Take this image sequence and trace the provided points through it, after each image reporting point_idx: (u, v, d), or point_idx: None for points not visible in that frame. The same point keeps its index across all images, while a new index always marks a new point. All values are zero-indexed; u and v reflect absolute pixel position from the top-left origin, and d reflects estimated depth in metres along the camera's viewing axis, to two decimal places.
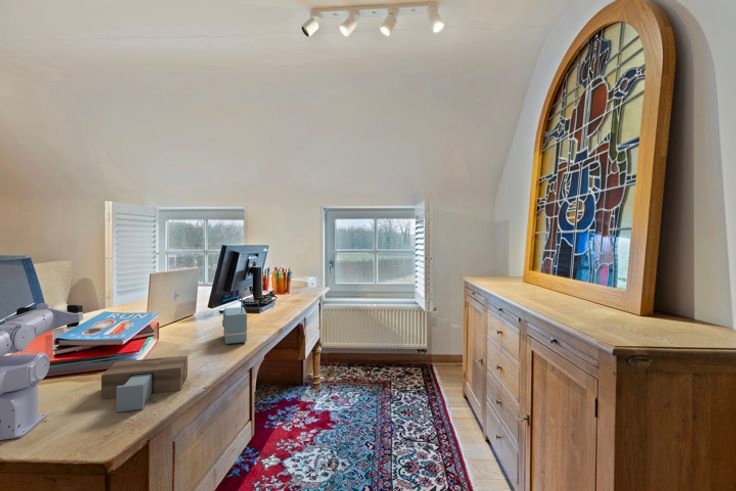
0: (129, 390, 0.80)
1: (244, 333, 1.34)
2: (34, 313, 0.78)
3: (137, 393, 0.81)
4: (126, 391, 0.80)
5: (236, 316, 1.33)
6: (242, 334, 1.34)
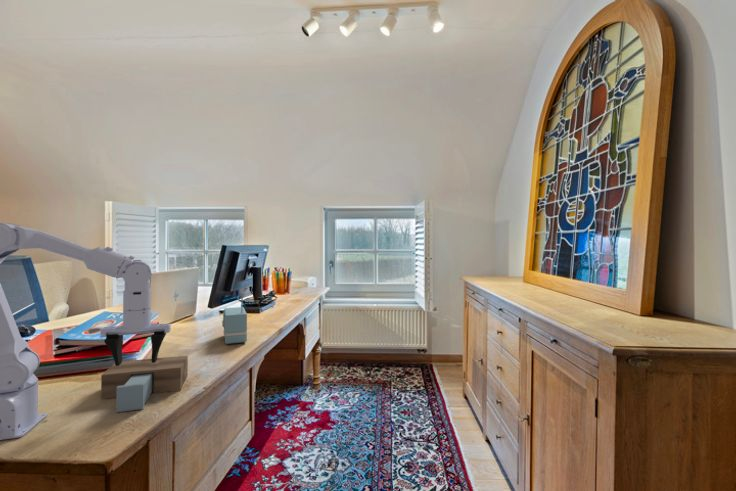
0: (129, 390, 0.80)
1: (244, 333, 1.34)
2: None
3: (137, 393, 0.81)
4: (126, 391, 0.80)
5: (236, 316, 1.33)
6: (242, 334, 1.34)
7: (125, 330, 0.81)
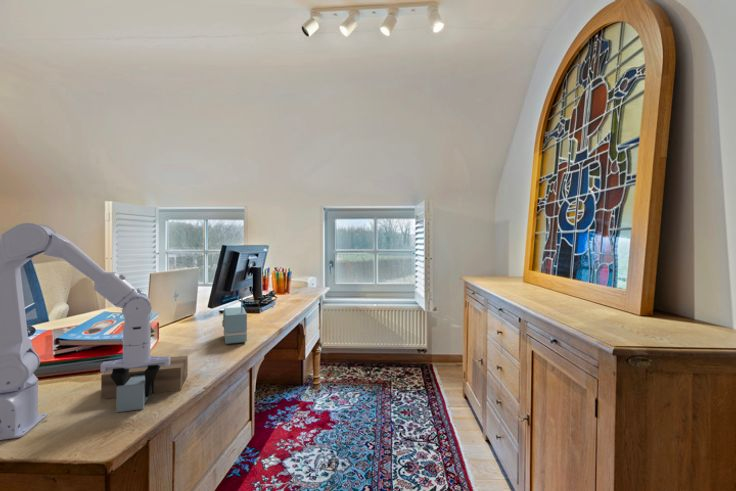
0: (129, 390, 0.80)
1: (244, 333, 1.34)
2: None
3: (137, 393, 0.81)
4: (126, 391, 0.80)
5: (236, 316, 1.33)
6: (242, 334, 1.34)
7: (125, 365, 0.82)
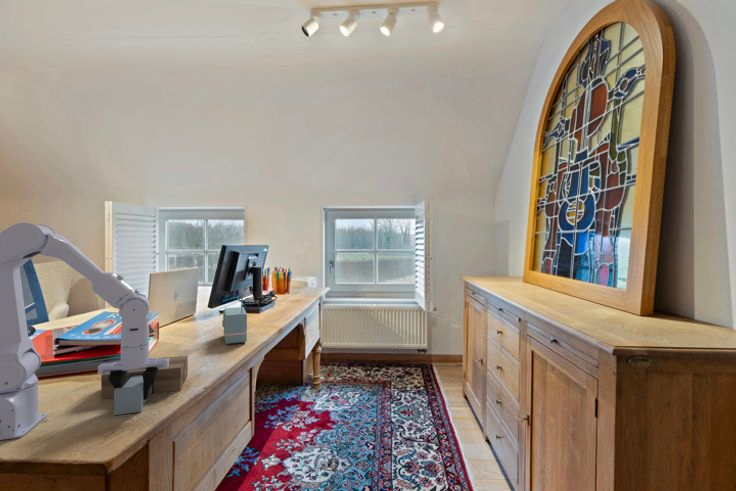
0: (127, 392, 0.79)
1: (244, 333, 1.34)
2: None
3: (135, 396, 0.79)
4: (124, 394, 0.79)
5: (236, 316, 1.33)
6: (242, 334, 1.34)
7: (123, 367, 0.80)
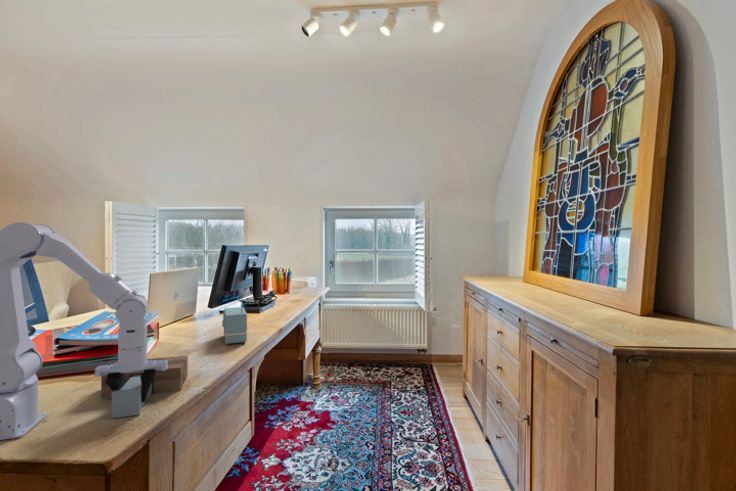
0: (124, 395, 0.77)
1: (244, 333, 1.34)
2: None
3: (133, 398, 0.78)
4: (122, 396, 0.77)
5: (236, 316, 1.33)
6: (242, 334, 1.34)
7: (120, 370, 0.79)
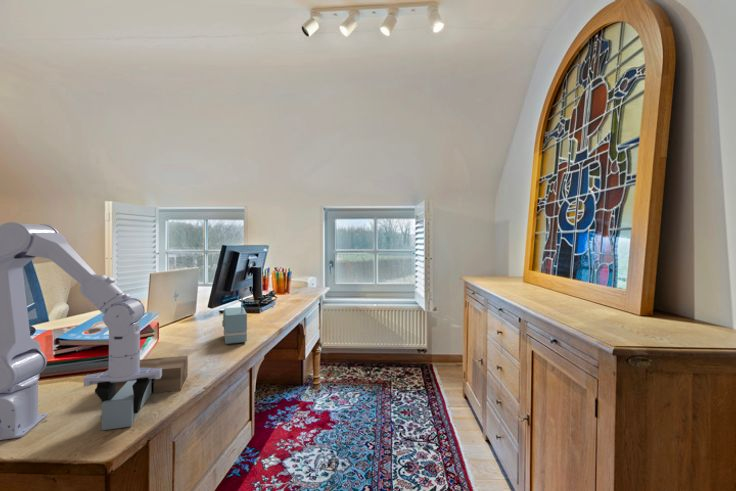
0: (116, 406, 0.72)
1: (244, 333, 1.34)
2: None
3: (125, 409, 0.73)
4: (113, 407, 0.72)
5: (236, 316, 1.33)
6: (242, 334, 1.34)
7: (111, 379, 0.74)
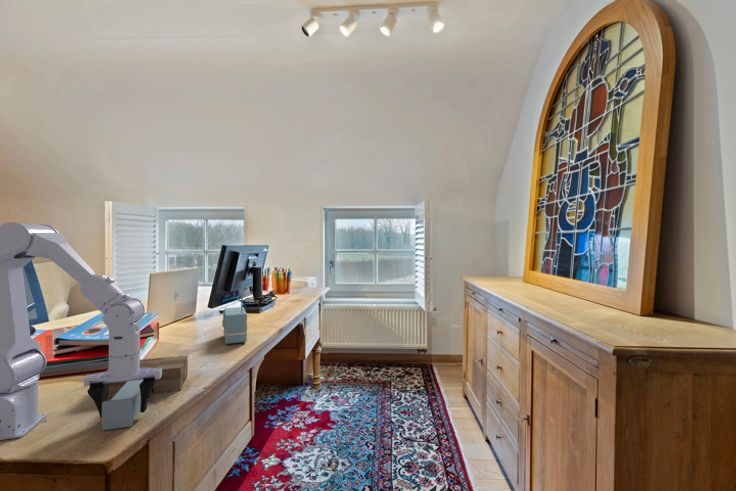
0: (116, 406, 0.72)
1: (244, 333, 1.34)
2: None
3: (125, 409, 0.73)
4: (113, 407, 0.72)
5: (236, 316, 1.33)
6: (242, 334, 1.34)
7: (111, 379, 0.74)
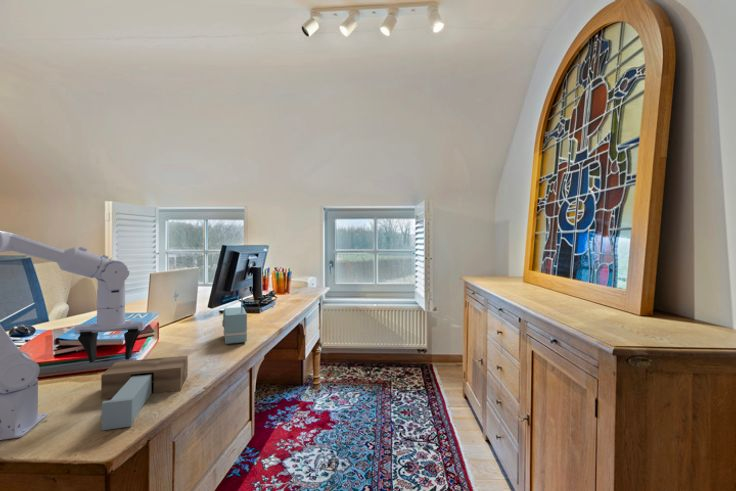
0: (116, 406, 0.72)
1: (244, 333, 1.34)
2: None
3: (125, 409, 0.73)
4: (113, 407, 0.72)
5: (236, 316, 1.33)
6: (242, 334, 1.34)
7: (98, 327, 0.84)
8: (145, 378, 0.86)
